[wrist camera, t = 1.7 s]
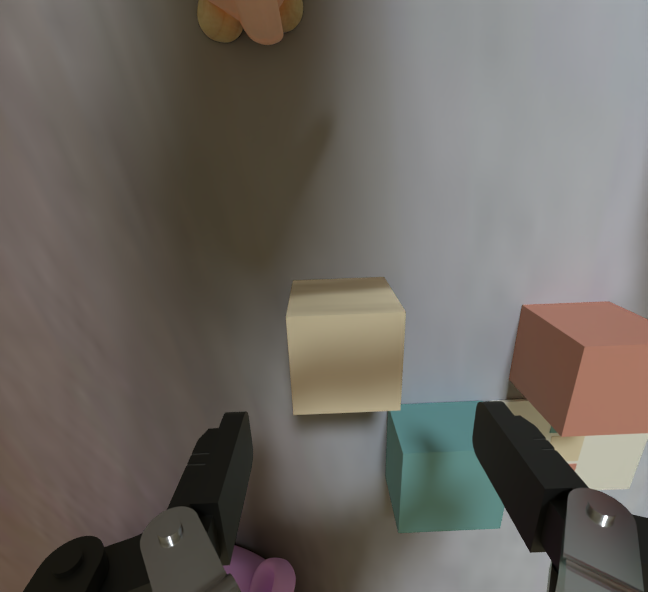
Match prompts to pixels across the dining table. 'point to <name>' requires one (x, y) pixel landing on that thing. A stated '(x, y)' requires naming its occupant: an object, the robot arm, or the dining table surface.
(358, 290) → the maple block
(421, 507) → the teal base brick
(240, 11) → the grandmother figurine
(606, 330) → the red block
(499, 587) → the dining table surface
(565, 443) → the page
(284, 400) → the dining table surface
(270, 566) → the teapot
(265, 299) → the dining table surface
